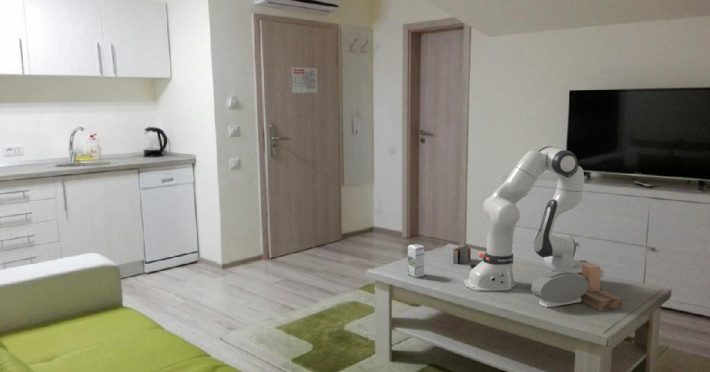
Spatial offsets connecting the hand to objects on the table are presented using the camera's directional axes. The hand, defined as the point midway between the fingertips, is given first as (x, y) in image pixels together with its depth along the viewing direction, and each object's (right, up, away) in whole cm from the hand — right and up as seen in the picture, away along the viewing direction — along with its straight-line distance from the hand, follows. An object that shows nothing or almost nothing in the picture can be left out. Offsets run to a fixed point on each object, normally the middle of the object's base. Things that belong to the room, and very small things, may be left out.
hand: (592, 278), depth 225 cm
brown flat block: (-44, -1, +53) cm, 69 cm away
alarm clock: (-16, -9, -7) cm, 20 cm away
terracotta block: (0, -7, +2) cm, 8 cm away
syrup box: (-70, -4, +31) cm, 77 cm away
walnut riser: (0, -9, -9) cm, 13 cm away
